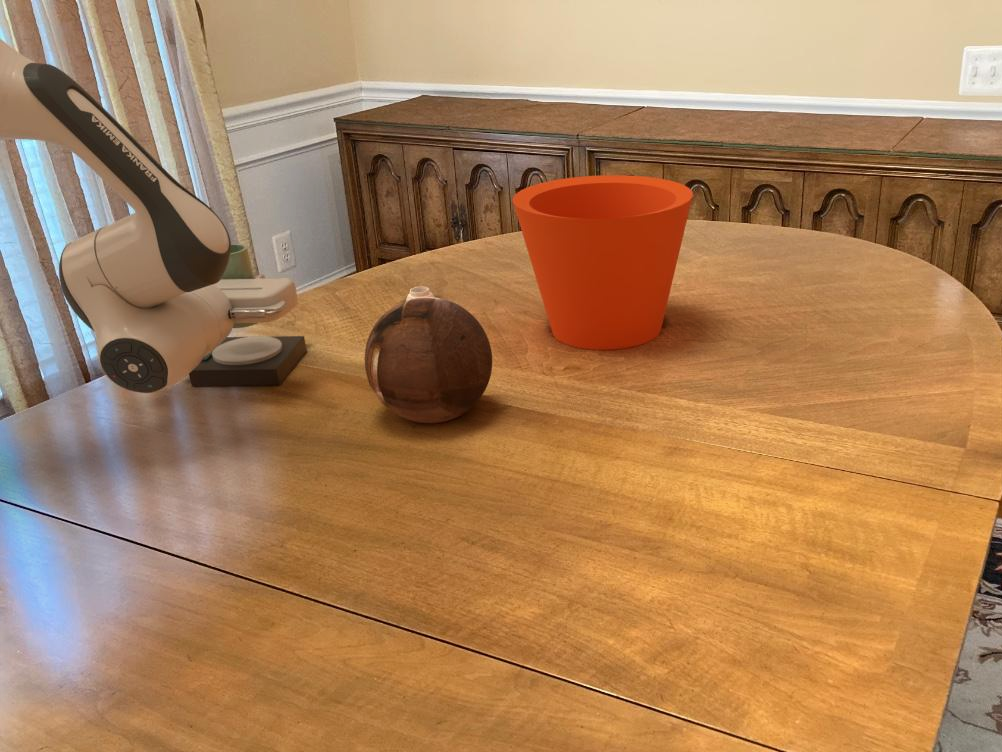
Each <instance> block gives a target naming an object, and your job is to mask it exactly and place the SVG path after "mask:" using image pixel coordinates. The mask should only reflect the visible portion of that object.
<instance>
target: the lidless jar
mask: <svg viewBox="0 0 1002 752" xmlns="http://www.w3.org/2000/svg"><path fill="white" fill-rule="evenodd" d="M420 297H435V295H434V294H433V292H432V291H430V288H429V287H428V286H414V287H412V288H410V289H409V293H408V294H407V296H406V299H405V301H407V300H410V299H414V298H420Z"/></svg>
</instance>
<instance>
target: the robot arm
mask: <svg viewBox="0 0 1002 752" xmlns="http://www.w3.org/2000/svg"><path fill="white" fill-rule="evenodd" d="M8 140H9V141H11V140H12V141H13V140H30V141H40V142H47V143H51V144H54V145H57V146H59V147H62V148H64V149H66V150H68V151H70V152H71V153H73V154H75V155H76V156H77V157H78V158H80V160H82V161H83V162H84V163H85V165H87V166H88V167H89V168H90V169H91V170H92V172H94V173H95V174H96V175H97V176H98V177H99V178H100V179H101V180H103V181H104V183H106V184H107V186H109V187H110V188H111V189H112V191H114V192H115V193H116V194H117V195H118V196H119V197H120V198H121V199H122V200H123V201H124V202H125V203H126V204H127V205H128V206H129V207H130V208H132V210H133V211H134V212H133V213H130V214H129V215H127V216H125V217H123V218H121V219H118V220H116V221H115V222H112V223H110V224H108V225H104V226H102V227H100V228H98V229H96V230H94V231H92V232H90V233H88V234H85V235H83V236H81V237H80V238H78V239H76V240H74V241H71V242H69V243H67V244H66V245H65V246H64V248H63V249H62V252H61V255H60V256H59V257H60V258H59V262H58V263H59V265H58V278H59V284H60V287H61V288H60V289H61V291H62V294H63V296H64V299H65V300H66V302H67V303H68V305H69V306H70V308H71V309H72V311H73V312H74V314H75V315H76V316H77V317H78V318H79V319H80V320H81V321H82V323H84V324H85V325H86V326H87V327H88V328H89V329H90V330H91V331H93V333H94V334H95V337H96V343H97V344H96V345H97V359H98V364H99V366H100V368H101V370H102V371H103V373H104V375H106V377H107V378H108V379H109V380H110V381H111V382H112V383H114V384H115V385H117V386H118V387H120V388H122V389H125V390H127V391H130V392H135V393H138V394H140V393H142V394H152V393H158V392H162V391H165V390H167V389H169V388H171V387H173V386H174V385H177V384H178V383H179V382H180V381H182V380H183V379H184V378H186V377H187V376H189V373H190V372H191V371H192V370H194V369H195V368H196V367H197V366H198V365H199V363H200V362H201V361H202V359H203V358H204V357H206V356H207V355H209V354H210V353H211V352H212V351H213V350H214V349H215V348H216V347H217V346H218V345H220V344H221V343H222V342H223V341H224V340H225V339H226V338H227V337H230V334H231V332H232V331H233V329H234V328H233V325H234V323H257V324H263V323H270V322H271V323H272V322H274V321H278V320H280V319H281V318H283V317H284V316H286V315H287V314H289V313H290V312H292V310H294V309H295V308H297V306H298V303H299V300H298V293H297V287H296V283H295V282H294V281H293V279H291V278H289V277H279V278H278V277H277V278H276V277H273V278H265V277H266V276H265V274H264V273H261V274H260V273H257V274H254V273H253V275H252V276H251V277H249V279H221V278H222V276H223V274H224V272H225V270H226V268H227V265H228V262H229V258H230V251H231V244H232V241H231V238H230V234H229V231H228V229H227V227H226V225H225V224H224V222H223V221H222V219H221V217H219V215H218V214H217V213H216V212H215V211H214V210H213V209H212V208H211V207H210V206H209V205H207V204H206V203H205V202H204V201H203V200H201V199H200V198H199V197H198V196H196V195H195V194H193V193H192V192H191V191H190V190H188V189H187V188H186V187H184V186H183V185H182V184H181V183H179V182H178V180H176V179H175V178H174V177H173V176H172V175H171V174H170V173H169V172H168V171H167V170H166V169H165V168H164V167H163V166H162V165H161V164H160V162H158V161H157V160H156V158H154V157H153V156H152V155H151V154H150V153H149V152H148V151H147V150H146V149H145V148H144V146H142V145H141V144H140V143H139V142H138V141H137V140H136V139H135V137H133V135H131V134H130V133H129V132H128V130H126V129H125V128H124V127H123V126H122V124H120V122H119V121H117V120H116V118H115V117H113V116H112V115H111V113H109V112H108V110H106V109H105V108H104V107H103V106H102V105H101V104H100V103H99V102H98V101H97V100H96V99H95V98H94V97H93V96H92V95H91V93H89V92H88V91H87V90H86V89H84V88H83V87H82V86H81V85H80V84H79V83H78V82H76V81H75V80H74V79H73V78H72V77H71V76H69V75H68V74H67V73H66V72H64V71H63V70H62V69H60V68H58V67H56V66H55V65H53V64H50V63H43V62H41V63H40V62H36V61H34V60H32V59H30V58H28V57H26V56H25V55H23V54H22V53H20V52H19V51H17V50H16V49H15V48H13V47H11V46H10V45H9V44H8V43H6V42H5V41H4V40H3V39H2V38H1V37H0V141H8Z"/></svg>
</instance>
